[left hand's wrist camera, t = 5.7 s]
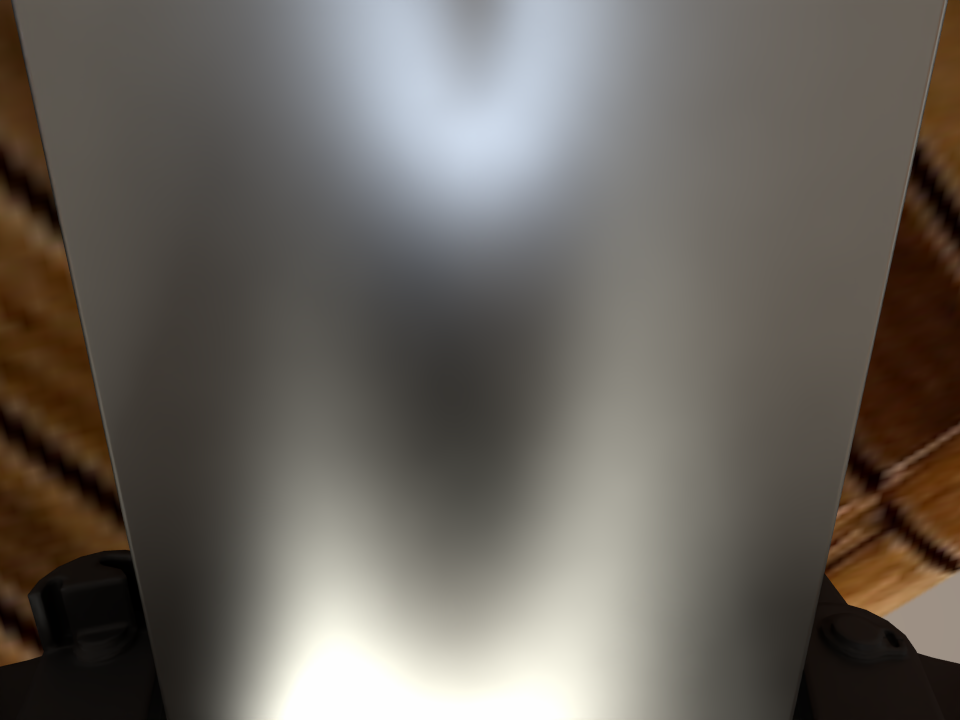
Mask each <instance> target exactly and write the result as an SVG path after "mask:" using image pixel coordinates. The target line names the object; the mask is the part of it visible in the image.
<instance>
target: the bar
mask: <svg viewBox="0 0 960 720" xmlns="http://www.w3.org/2000/svg"><path fill="white" fill-rule="evenodd" d="M11 2H12V7H13V11H14V16H15V21H16V25H17V30H18V35H19V39H20V44H21V48H22V53H23V58H24V62H25V67H26V72H27V76H28V81H29V85H30V90H31V95H32V99H33V104H34V108H35V113H36V118H37V122H38V127H39V132H40V136H41V141H42V145H43V150H44V155H45V159H46V164H47V169H48V173H49V178H50V182H51V187H52V192H53V196H54V201H55V206H56V210H57V215H58V219H59V224H60V229H61V233H62V238H63V242H64V247H65V252H66V256H67V261H68V266H69V270H70V275H71V279H72V284H73V289H74V293H75V298H76V303H77V307H78V312H79V316H80V321H81V326H82V330H83V335H84V340H85V344H86V349H87V353H88V358H89V363H90V367H91V372H92V376H93V381H94V386H95V390H96V395H97V400H98V404H99V409H100V413H101V418H102V423H103V427H104V432H105V437H106V441H107V446H108V450H109V455H110V460H111V464H112V469H113V474H114V478H115V483H116V487H117V492H118V497H119V501H120V506H121V511H122V515H123V520H124V524H125V529H126V534H127V538H128V543H129V547H130V552H131V557H132V561H133V566H134V571H135V575H136V580H137V584H138V589H139V594H140V598H141V603H142V608H143V612H144V617H145V621H146V626H147V631H148V635H149V640H150V645H151V649H152V654H153V658H154V663H155V668H156V672H157V677H158V681H159V686H160V691H161V695H162V700H163V705H164V709H165V714H166V718H167V720H793V715H794V710H795V706H796V701H797V696H798V692H799V687H800V683H801V678H802V673H803V669H804V664H805V659H806V655H807V650H808V646H809V641H810V636H811V632H812V627H813V622H814V618H815V613H816V608H817V604H818V599H819V595H820V590H821V585H822V581H823V576H824V571H825V567H826V562H827V558H828V553H829V548H830V544H831V539H832V534H833V530H834V525H835V521H836V516H837V511H838V507H839V502H840V497H841V493H842V488H843V484H844V479H845V474H846V470H847V465H848V460H849V456H850V451H851V447H852V442H853V437H854V433H855V428H856V423H857V419H858V414H859V410H860V405H861V400H862V396H863V391H864V386H865V382H866V377H867V372H868V368H869V363H870V359H871V354H872V349H873V345H874V340H875V335H876V331H877V326H878V322H879V317H880V312H881V308H882V303H883V298H884V294H885V289H886V285H887V280H888V275H889V271H890V266H891V261H892V257H893V252H894V248H895V243H896V238H897V234H898V229H899V224H900V220H901V215H902V211H903V206H904V201H905V197H906V192H907V187H908V183H909V178H910V174H911V169H912V164H913V160H914V155H915V150H916V146H917V141H918V136H919V132H920V127H921V123H922V118H923V113H924V109H925V104H926V99H927V95H928V90H929V86H930V81H931V76H932V72H933V67H934V62H935V58H936V53H937V49H938V44H939V39H940V35H941V30H942V25H943V21H944V16H945V12H946V7H947V2H948V0H11Z"/></svg>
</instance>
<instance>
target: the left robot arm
mask: <svg viewBox="0 0 960 720" xmlns="http://www.w3.org/2000/svg"><path fill="white" fill-rule="evenodd" d="M28 598H29V602H30V605H31V608H32V612H33V615H34V619H35V622H36V626H37V629H38V633H39V636H40V640H41V643H42V647H43V650H44V653H43V655H42V656H41V657H37V658H34V659H31V660H27V661H23V662H19V663H14V664H10V665H5V666H1V667H0V720H167V718H166V714H165V709H164V705H163V700H162V695H161V691H160V686H159V681H158V677H157V672H156V668H155V663H154V658H153V654H152V649H151V645H150V640H149V635H148V631H147V626H146V621H145V617H144V612H143V608H142V603H141V598H140V594H139V589H138V584H137V580H136V575H135V571H134V566H133V561H132V557H131V552H130V551H129V550H113V551H102V552H98V553H94V554H91V555H87V556H83V557H80V558H77V559H75V560H73V561H71V562H69V563H66V564H64V565H62V566H60V567H58V568H56V569H55V570H53V571H52V572H51V573H49V574H48V575H46V576H45V577H44V578H42V579H41V580H39V582H38V583H37V584H36V585H35V587H34V588H33V589H32V590H31V592H30V593H29V594H28ZM793 720H960V664H958V663H954V662H950V661H945V660H941V659H936V658H932V657H929V656H925V655H922V654H919V653H917V652H916V650H915V648H914V647H913V646H912V644H911V643H910V641H909V640H908V638H907V637H906V635H905V634H903V633H902V632H901V631H900V630H898V629H897V628H896V627H895V626H893V625H892V624H891V623H890V622H888V621H887V620H885V619H883V618H881V617H879V616H877V615H875V614H873V613H871V612H869V611H867V610H865V609H861V608H858V607H854V606H851V605H848V604H847V603H846V601H845V600H844V599H843V597H842V596H841V595H840V593H839V592H838V591H837V589H836V588H835V587H834V585H833V584H832V583H831V581H830V580H829V579H828V577H827V576H826V575H825V574H824V576H823V581H822V585H821V590H820V595H819V599H818V604H817V608H816V613H815V618H814V622H813V627H812V632H811V636H810V641H809V646H808V650H807V655H806V659H805V664H804V669H803V673H802V678H801V683H800V687H799V692H798V696H797V701H796V706H795V710H794V715H793Z"/></svg>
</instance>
